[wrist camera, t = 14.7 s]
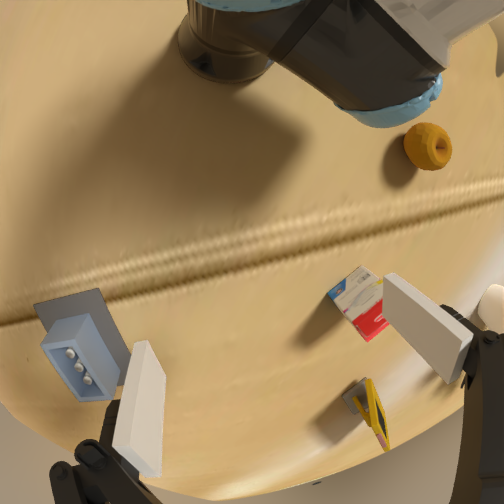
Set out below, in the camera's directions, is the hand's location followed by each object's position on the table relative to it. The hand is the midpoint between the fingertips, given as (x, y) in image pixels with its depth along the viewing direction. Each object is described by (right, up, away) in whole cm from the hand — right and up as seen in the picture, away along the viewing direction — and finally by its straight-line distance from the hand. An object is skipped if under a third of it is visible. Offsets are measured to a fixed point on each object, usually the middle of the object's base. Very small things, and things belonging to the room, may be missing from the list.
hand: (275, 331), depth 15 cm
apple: (+28, +23, +30) cm, 47 cm away
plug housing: (-32, -14, +32) cm, 48 cm away
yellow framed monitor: (+27, -33, +50) cm, 66 cm away
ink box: (+17, -2, +37) cm, 41 cm away
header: (-32, -14, +32) cm, 48 cm away
